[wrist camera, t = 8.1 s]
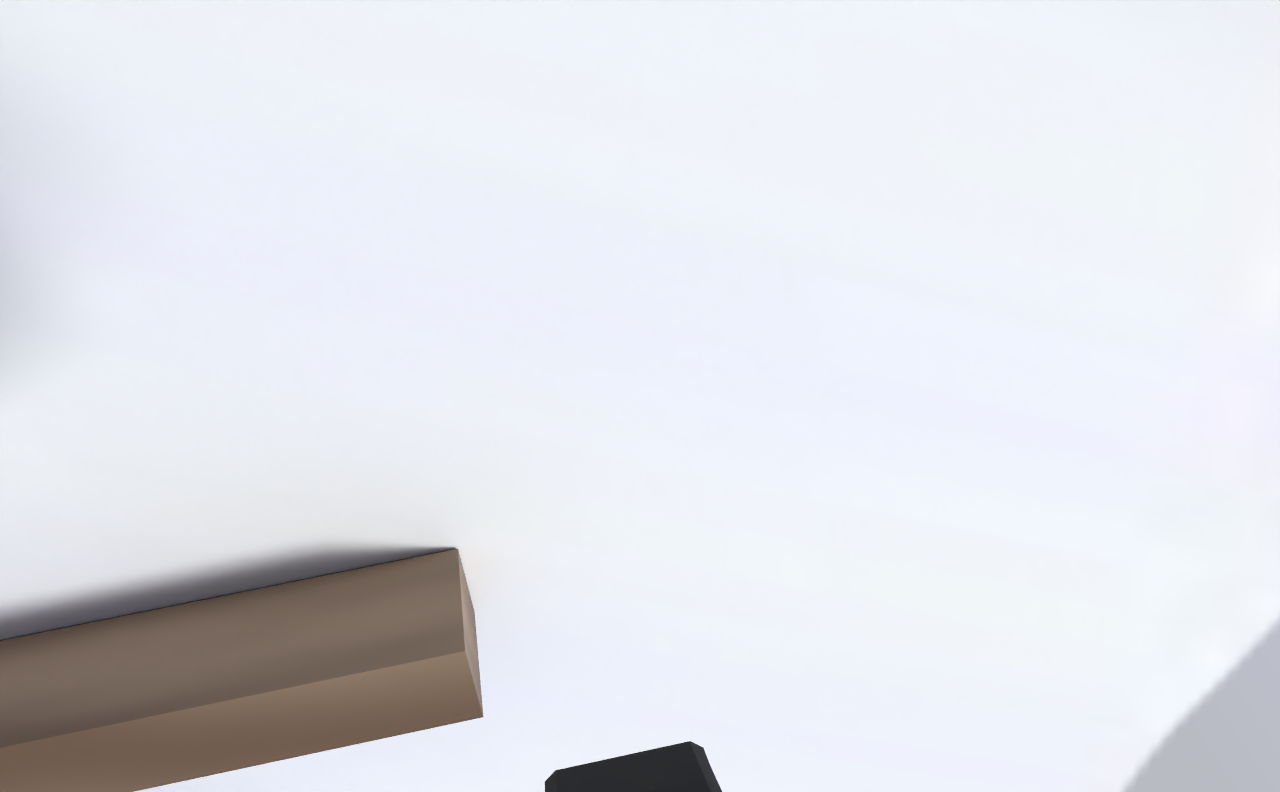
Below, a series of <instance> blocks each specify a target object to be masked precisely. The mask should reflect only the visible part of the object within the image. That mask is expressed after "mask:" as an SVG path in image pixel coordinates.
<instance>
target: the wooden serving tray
mask: <svg viewBox="0 0 1280 792" xmlns="http://www.w3.org/2000/svg"><path fill="white" fill-rule="evenodd" d="M481 717H483V709H482V697H481V685H480V673H479V661H478V650H477V638H476V626H475V614H474V609H473V605H472V601H471V598H470V594H469V590H468V586H467V582H466V578H465V575H464V571H463V567H462V563H461V559H460V555H459V551H458V549H454V550H449V551H444V552H439V553H434V554H429V555H424V556H419V557H414V558H409V559H404V560H399V561H394V562H390V563H385V564H380V565H375V566H370V567H365V568H360V569H355V570H350V571H345V572H340V573H335V574H330V575H325V576H320V577H315V578H310V579H305V580H300V581H295V582H290V583H285V584H280V585H275V586H270V587H265V588H260V589H255V590H250V591H245V592H240V593H236V594H231V595H226V596H221V597H216V598H211V599H206V600H201V601H196V602H191V603H186V604H181V605H176V606H171V607H166V608H161V609H156V610H151V611H146V612H141V613H136V614H131V615H126V616H121V617H116V618H111V619H106V620H101V621H96V622H91V623H86V624H82V625H77V626H72V627H67V628H62V629H57V630H52V631H47V632H42V633H37V634H32V635H27V636H22V637H17V638H12V639H7V640H2V641H0V792H134V791H138V790H143V789H148V788H152V787H157V786H162V785H166V784H171V783H176V782H180V781H185V780H190V779H195V778H199V777H204V776H209V775H213V774H218V773H223V772H227V771H232V770H237V769H242V768H246V767H251V766H256V765H260V764H265V763H270V762H274V761H279V760H284V759H288V758H293V757H298V756H303V755H307V754H312V753H317V752H321V751H326V750H331V749H335V748H340V747H345V746H350V745H354V744H359V743H364V742H368V741H373V740H378V739H382V738H387V737H392V736H396V735H401V734H406V733H411V732H415V731H420V730H425V729H429V728H434V727H439V726H443V725H448V724H453V723H458V722H462V721H467V720H472V719H476V718H481Z"/></svg>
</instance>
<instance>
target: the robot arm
mask: <svg viewBox="0 0 1280 792" xmlns="http://www.w3.org/2000/svg"><path fill="white" fill-rule="evenodd" d="M545 792H722V791H721V788H720V786H719V784H718V782H717V780H716V778H715V775H714V773H713V771H712V769H711V766H710V764H709V762H708V759H707V756H706V754H705V751H704V748H703V747H701V746H699V745H697V744H695V743H693V742H691V741H689V742H684V743H680V744H675V745H671V746H666V747H661V748H657V749H652V750H648V751H643V752H638V753H634V754H629V755H625V756H620V757H615V758H611V759H606V760H602V761H597V762H592V763H588V764H583V765H579V766H574V767H569V768H565V769H560V770H556V771H555V772H554V773H553V774H552V775H551V776H550V777H549V778H548V779H547V780H546V781H545Z"/></svg>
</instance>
